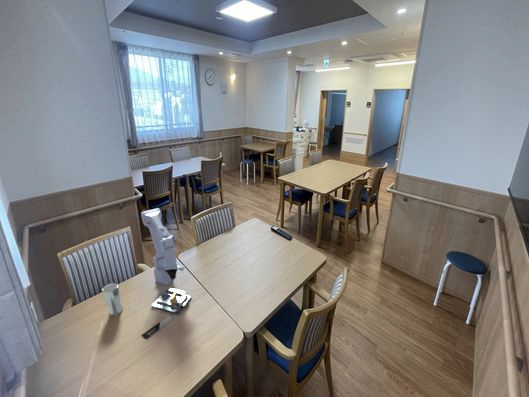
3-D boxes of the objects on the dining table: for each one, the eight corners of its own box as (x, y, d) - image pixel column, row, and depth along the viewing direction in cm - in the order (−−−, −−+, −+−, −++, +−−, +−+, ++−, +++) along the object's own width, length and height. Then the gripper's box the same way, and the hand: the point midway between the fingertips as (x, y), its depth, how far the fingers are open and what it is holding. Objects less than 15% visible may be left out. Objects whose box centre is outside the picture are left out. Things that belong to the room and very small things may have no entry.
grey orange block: (170, 303, 131) (169, 298, 130) (175, 298, 134) (174, 293, 133) (183, 307, 129) (183, 302, 127) (188, 301, 132) (187, 296, 131)
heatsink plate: (151, 307, 130) (150, 301, 129) (166, 291, 141) (165, 285, 139) (178, 314, 126) (177, 308, 124) (191, 298, 137) (190, 292, 135)
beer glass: (108, 318, 123) (101, 294, 118) (108, 308, 129) (102, 285, 123) (124, 313, 126) (118, 289, 121) (124, 303, 132) (118, 281, 126)
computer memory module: (169, 314, 126) (174, 318, 123) (170, 315, 126) (174, 319, 124) (141, 334, 115) (145, 339, 113) (141, 335, 115) (146, 340, 113)
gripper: (153, 259, 129) (157, 280, 134) (177, 264, 125) (180, 286, 130) (162, 252, 135) (165, 272, 140) (185, 256, 131) (188, 277, 136)
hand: (173, 278), depth 136 cm, fingers closed
